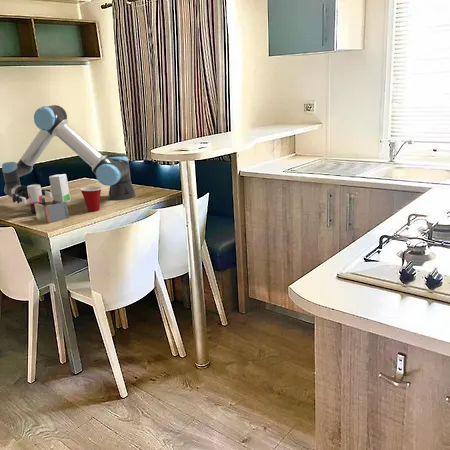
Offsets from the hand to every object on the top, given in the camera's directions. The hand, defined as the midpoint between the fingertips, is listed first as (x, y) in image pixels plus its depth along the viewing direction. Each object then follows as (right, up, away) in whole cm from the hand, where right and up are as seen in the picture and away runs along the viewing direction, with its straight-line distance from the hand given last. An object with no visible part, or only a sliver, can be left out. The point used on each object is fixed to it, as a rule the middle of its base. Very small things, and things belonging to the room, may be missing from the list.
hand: (38, 197), depth 242 cm
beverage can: (-2, -8, +5) cm, 10 cm away
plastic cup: (+27, -6, +5) cm, 28 cm away
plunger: (+6, -10, -4) cm, 12 cm away
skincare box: (+3, -1, +26) cm, 26 cm away
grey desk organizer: (+10, -11, -6) cm, 16 cm away
